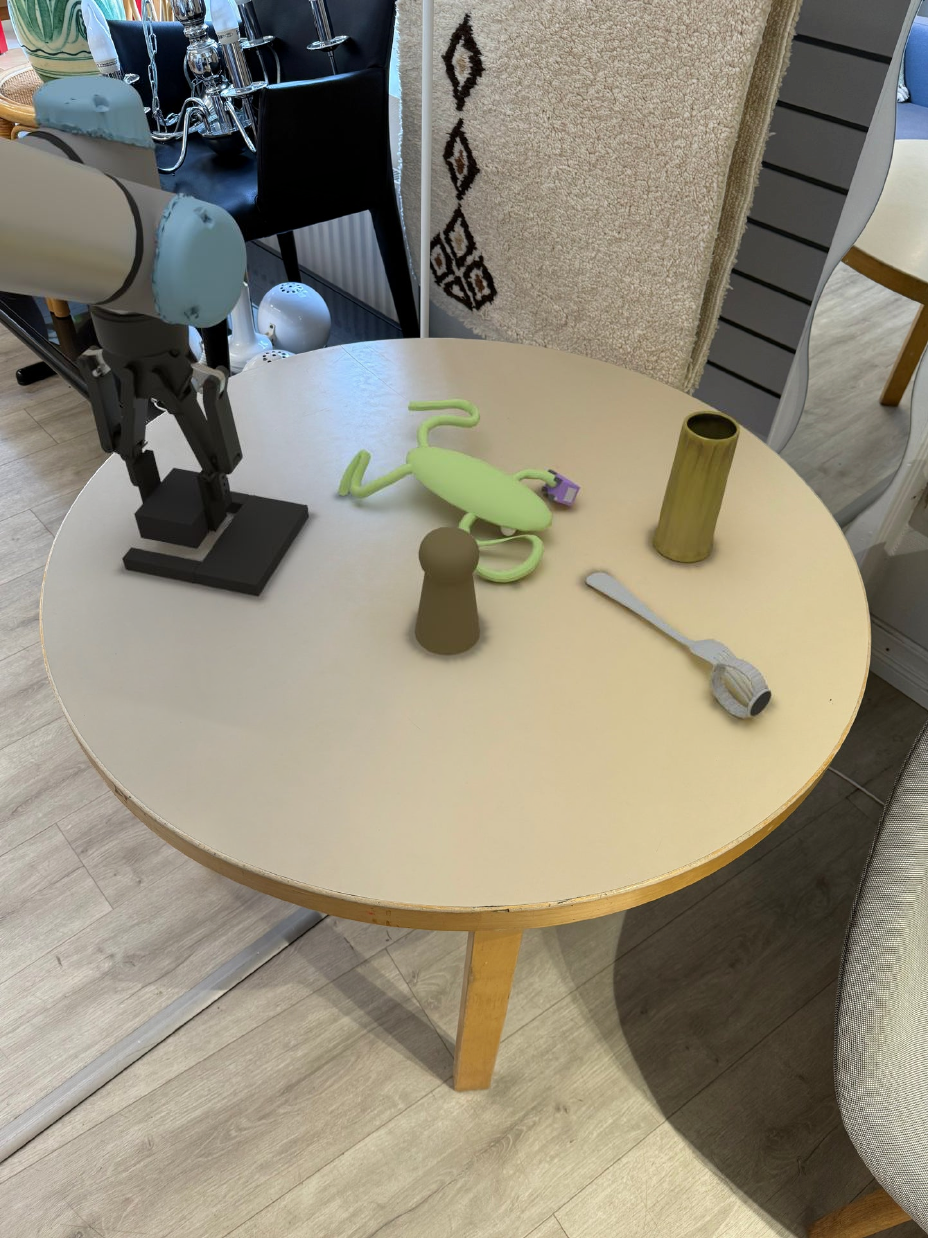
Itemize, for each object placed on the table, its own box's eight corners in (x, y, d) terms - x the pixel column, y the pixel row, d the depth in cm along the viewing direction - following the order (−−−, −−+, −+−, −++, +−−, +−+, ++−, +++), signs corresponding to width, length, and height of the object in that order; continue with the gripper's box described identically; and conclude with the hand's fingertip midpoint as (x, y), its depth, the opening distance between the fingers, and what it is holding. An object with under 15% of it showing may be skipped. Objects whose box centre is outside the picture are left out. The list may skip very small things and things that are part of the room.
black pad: (309, 516, 95) (307, 504, 94) (258, 596, 86) (256, 585, 85) (187, 493, 98) (184, 482, 97) (125, 569, 88) (121, 558, 87)
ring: (742, 732, 76) (758, 692, 72) (699, 695, 79) (711, 655, 75) (765, 717, 77) (781, 677, 74) (721, 681, 80) (735, 641, 77)
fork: (599, 589, 92) (600, 567, 90) (770, 698, 79) (776, 674, 77) (579, 601, 90) (580, 579, 89) (750, 713, 77) (755, 689, 76)
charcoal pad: (140, 538, 89) (133, 513, 87) (179, 491, 94) (173, 467, 92) (197, 549, 88) (191, 524, 86) (232, 501, 93) (228, 477, 91)
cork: (452, 599, 87) (454, 507, 79) (493, 635, 83) (500, 542, 76) (401, 627, 84) (398, 534, 76) (442, 664, 81) (443, 571, 73)
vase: (713, 532, 95) (747, 413, 85) (709, 568, 91) (743, 448, 81) (656, 521, 96) (682, 403, 86) (648, 556, 92) (675, 436, 82)
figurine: (435, 420, 109) (435, 378, 106) (616, 514, 97) (624, 470, 93) (319, 484, 99) (315, 441, 95) (505, 599, 87) (508, 554, 83)
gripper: (260, 291, 76) (290, 511, 92) (57, 261, 79) (120, 480, 95) (221, 331, 70) (260, 557, 87) (5, 298, 74) (81, 523, 90)
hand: (187, 516), depth 91 cm, fingers closed on charcoal pad, 6 cm apart
